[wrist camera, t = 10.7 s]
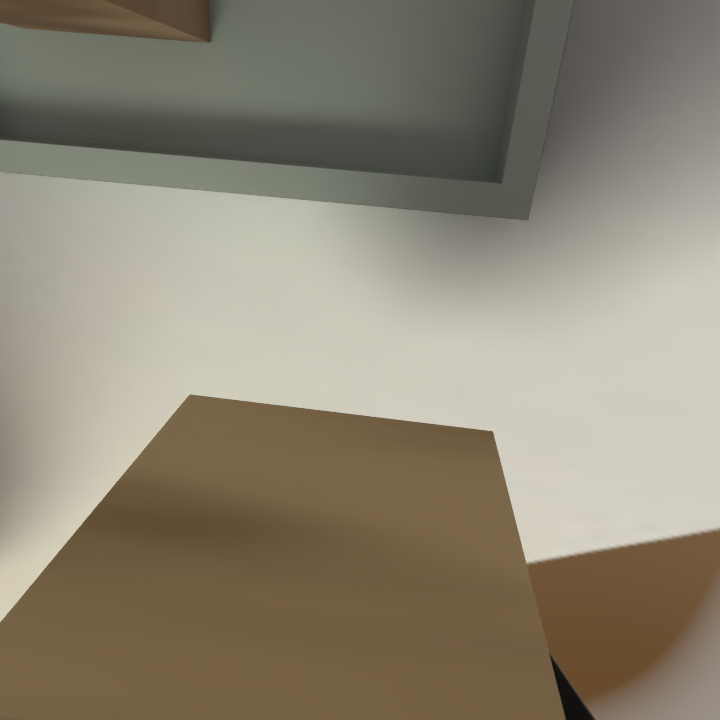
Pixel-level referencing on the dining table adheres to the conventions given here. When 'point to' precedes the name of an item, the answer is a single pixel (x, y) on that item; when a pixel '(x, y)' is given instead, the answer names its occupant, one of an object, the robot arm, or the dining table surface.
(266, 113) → the tray
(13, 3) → the walnut block
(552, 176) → the dining table surface
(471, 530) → the oak block
